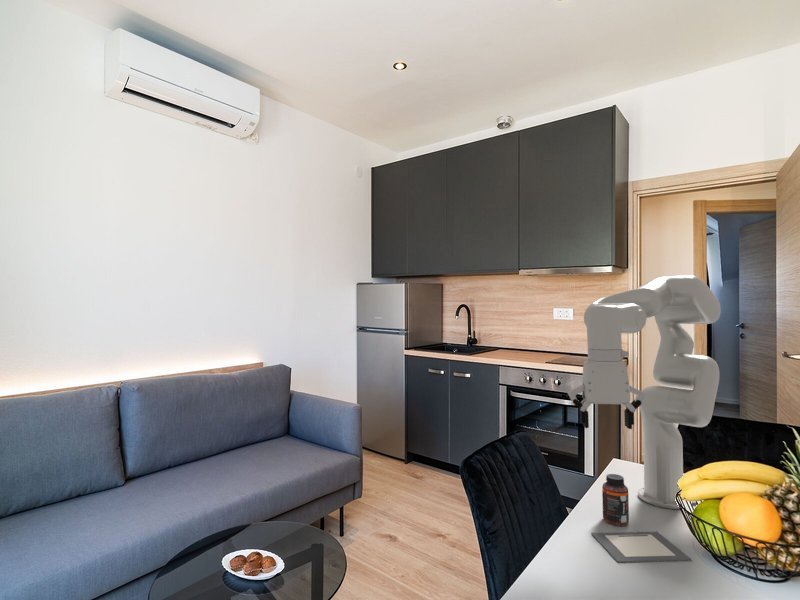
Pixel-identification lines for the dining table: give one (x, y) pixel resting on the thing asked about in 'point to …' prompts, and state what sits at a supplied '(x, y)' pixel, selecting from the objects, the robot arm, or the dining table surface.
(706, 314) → the robot arm
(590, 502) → the dining table surface
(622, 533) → the mat
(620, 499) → the supplement bottle
